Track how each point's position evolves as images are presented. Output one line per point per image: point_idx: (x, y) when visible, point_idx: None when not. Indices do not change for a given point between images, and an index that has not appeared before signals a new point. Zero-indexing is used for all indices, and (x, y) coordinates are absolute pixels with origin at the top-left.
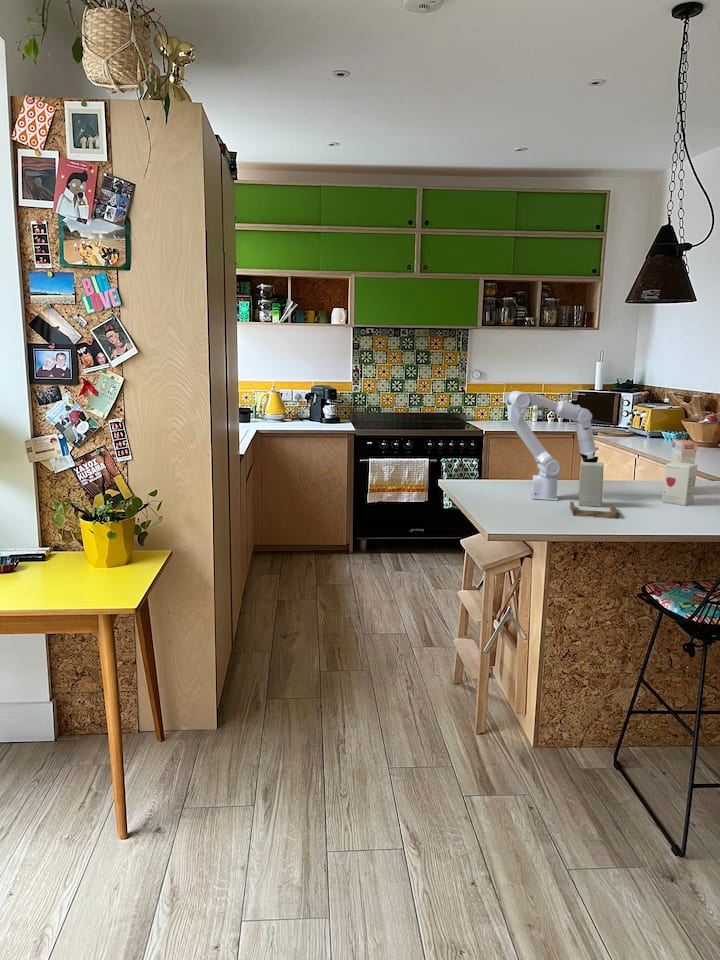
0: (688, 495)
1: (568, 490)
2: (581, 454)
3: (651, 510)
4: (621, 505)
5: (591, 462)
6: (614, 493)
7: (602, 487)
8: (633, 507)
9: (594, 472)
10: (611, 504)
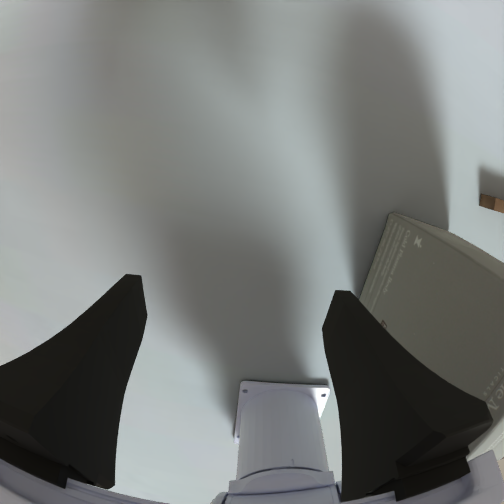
0: None
1: (75, 295)
2: (96, 485)
3: (459, 33)
4: (401, 113)
5: (500, 424)
6: (85, 80)
7: (485, 254)
8: (429, 75)
9: None
10: (498, 207)
